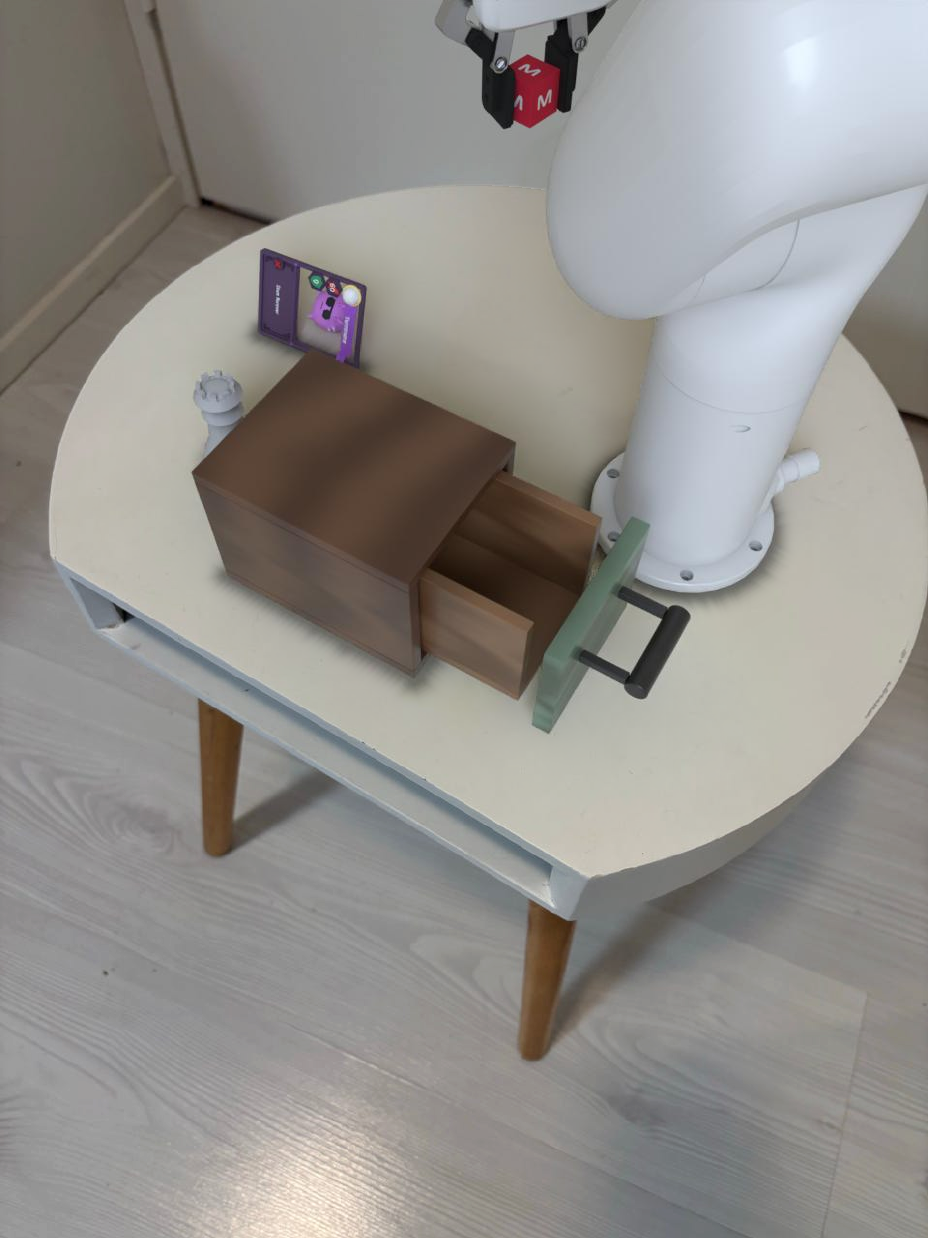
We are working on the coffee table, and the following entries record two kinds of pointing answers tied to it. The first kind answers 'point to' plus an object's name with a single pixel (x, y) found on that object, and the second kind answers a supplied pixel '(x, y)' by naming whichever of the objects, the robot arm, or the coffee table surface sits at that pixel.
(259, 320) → the game card
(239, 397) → the rook chess piece
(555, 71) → the red letter cube
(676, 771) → the coffee table surface
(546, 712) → the drawer
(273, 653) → the coffee table surface
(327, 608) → the cabinet
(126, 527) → the coffee table surface
